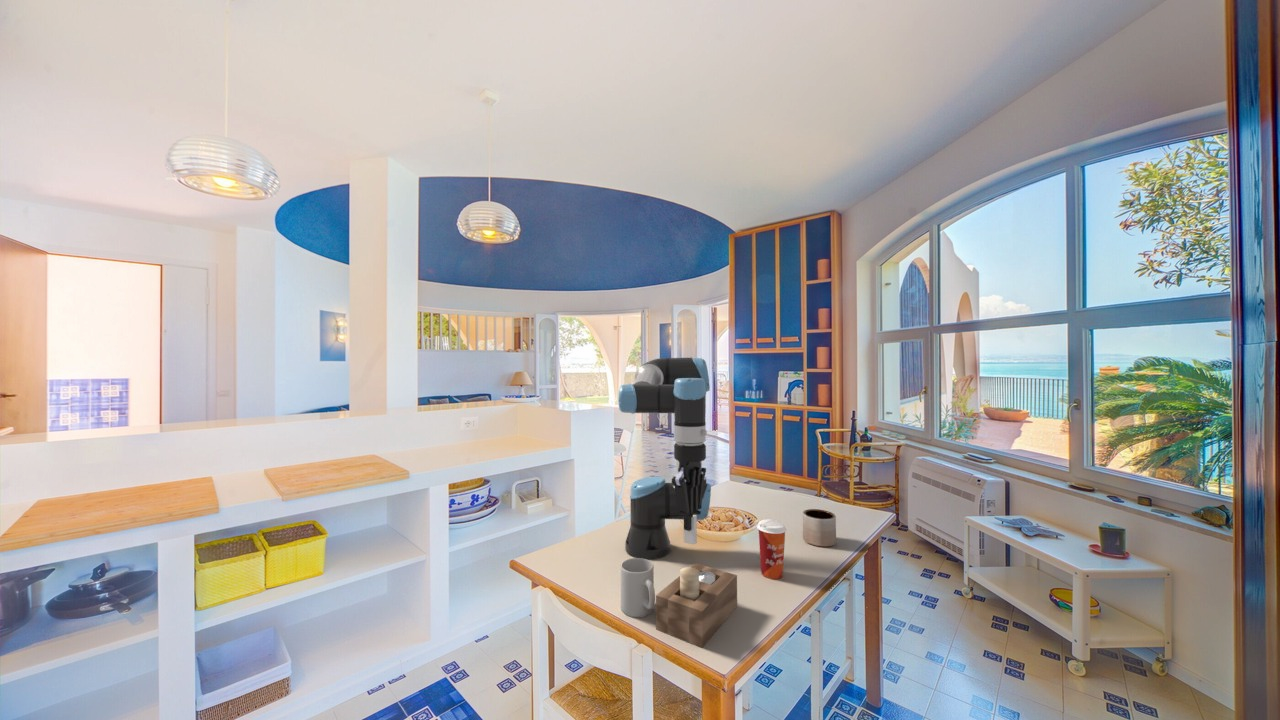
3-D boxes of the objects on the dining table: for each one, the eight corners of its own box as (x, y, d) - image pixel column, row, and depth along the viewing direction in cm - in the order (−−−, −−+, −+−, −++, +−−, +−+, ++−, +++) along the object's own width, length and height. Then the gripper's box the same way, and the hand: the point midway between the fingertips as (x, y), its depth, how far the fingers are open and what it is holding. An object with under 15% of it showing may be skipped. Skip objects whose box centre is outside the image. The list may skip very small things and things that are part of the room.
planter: (807, 533, 162) (807, 506, 162) (839, 539, 156) (839, 512, 156) (798, 542, 153) (798, 515, 153) (832, 550, 147) (832, 521, 147)
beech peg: (676, 606, 105) (676, 572, 105) (685, 598, 108) (685, 565, 108) (693, 612, 102) (693, 578, 102) (702, 603, 106) (702, 570, 106)
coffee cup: (771, 583, 125) (771, 530, 125) (751, 571, 133) (751, 521, 133) (793, 577, 129) (792, 525, 129) (772, 565, 136) (772, 516, 136)
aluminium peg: (694, 608, 112) (694, 576, 112) (702, 600, 116) (702, 569, 116) (710, 613, 110) (710, 581, 110) (718, 605, 113) (718, 574, 113)
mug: (614, 604, 115) (614, 562, 115) (642, 595, 119) (642, 555, 119) (638, 629, 104) (638, 582, 104) (668, 618, 109) (668, 573, 109)
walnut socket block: (656, 629, 104) (655, 595, 104) (695, 592, 121) (695, 563, 121) (702, 647, 97) (702, 611, 97) (737, 606, 114) (737, 575, 114)
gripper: (691, 448, 98) (691, 556, 98) (715, 440, 109) (716, 537, 108) (662, 445, 102) (662, 548, 102) (688, 437, 113) (689, 530, 113)
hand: (690, 542), depth 105 cm, fingers closed
